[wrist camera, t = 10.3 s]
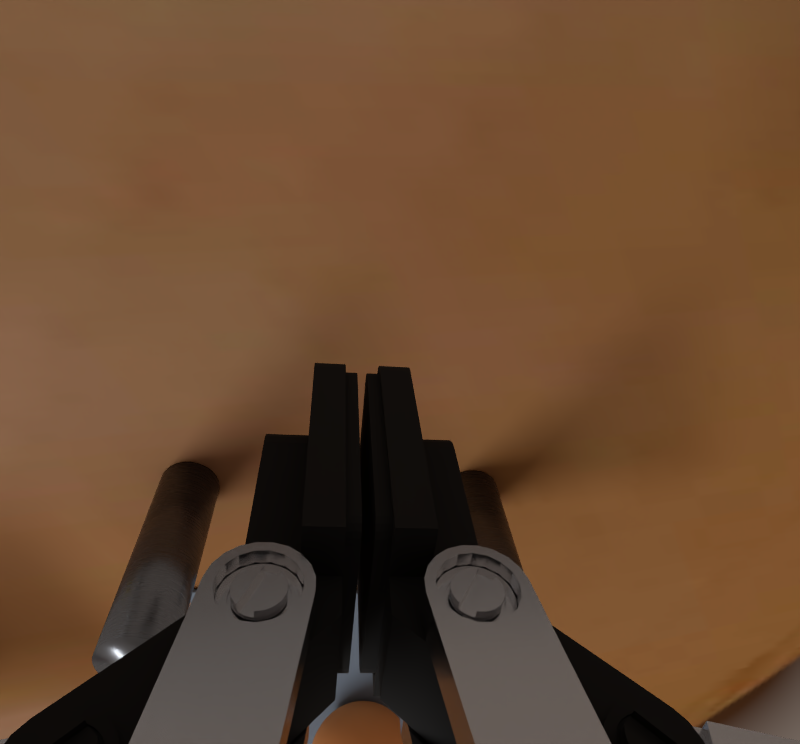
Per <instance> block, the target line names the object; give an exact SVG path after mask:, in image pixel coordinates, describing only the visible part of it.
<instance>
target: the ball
mask: <svg viewBox="0 0 800 744" xmlns="http://www.w3.org/2000/svg"><path fill="white" fill-rule="evenodd" d="M312 744H403V742H402V738H401V730H400V719H399V717H398V716H397V715H396V714H395V713H394V712H392V711H391V710H390V709H388V708H387V707H385V706H383V705H381V704H379V703H376V702H371V701H355V702H351V703H347V704H345V705H343V706H341V707H339V708H337V709H336V710H335V711H333V712H332V713H331V714H330V715H329V716H328V717H327V718H326V719H325V720H324V721H323V723H322V724H321V726H320V727H319V729H318V731H317V733H316V735H315V737H314V740H313V743H312Z"/></svg>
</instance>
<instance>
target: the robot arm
mask: <svg viewBox="0 0 800 744" xmlns="http://www.w3.org/2000/svg"><path fill="white" fill-rule="evenodd" d="M357 588H358V633H359V670H360V673H373V696H380V700H381V701H382V702H384V703H385V704H386V705H387V706H388V707H389V708H390V709H391V710H392V711H394V712H395V713H396V714H397V715H398V716H399V717H400V730H401V738H402V742H403V744H800V741H798V740H793V739H788V738H784V737H779V736H774V735H769V734H765V733H761V732H756V731H751V730H747V729H742V728H737V727H733V726H728V725H723V724H718V723H713V722H709V721H706V723H705V725H704V726H703V728H697V727H693V726H692V725H691V724H690V723H689V722H688V721H687V720H686V719H685V718H684V717H682V716H681V715H680V714H679V713H678V712H676V711H675V710H674V709H673V708H672V707H670V706H669V705H667V704H666V703H664V702H663V701H661V700H660V699H659V698H657V697H656V696H654V695H653V694H651V693H650V692H648V691H647V690H645V689H644V688H643V687H641V686H640V685H638V684H637V683H635V682H634V681H632V680H631V679H629V678H628V677H626V676H625V675H624V674H622V673H621V672H619V671H618V670H616V669H615V668H613V667H612V666H610V665H609V664H608V663H606V662H605V661H603V660H602V659H600V658H599V657H597V656H596V655H594V654H593V653H591V652H590V651H589V650H587V649H586V648H584V647H583V646H581V645H580V644H578V643H577V642H575V641H574V640H572V639H571V638H570V637H568V636H567V635H565V634H564V633H562V632H561V631H559V630H558V629H556V628H555V627H554V626H552V625H551V623H550V621H549V619H548V617H547V615H546V613H545V611H544V609H543V607H542V605H541V603H540V601H539V599H538V597H537V595H536V593H535V591H534V589H533V587H532V585H531V583H530V581H529V579H528V578H527V576H526V575H525V573H524V572H523V571H522V569H521V568H520V567H519V566H518V565H517V564H516V563H514V562H513V561H512V560H511V559H510V558H509V557H507V556H505V555H503V554H501V553H499V552H497V551H495V550H493V549H489V548H485V547H481V546H478V543H477V539H476V535H475V531H474V526H473V522H472V518H471V514H470V510H469V506H468V502H467V498H466V494H465V490H464V486H463V482H462V478H461V474H460V470H459V466H458V462H457V458H456V453H455V449H454V446H453V443H452V442H451V441H449V440H423V439H422V434H421V428H420V422H419V417H418V411H417V406H416V400H415V395H414V389H413V383H412V378H411V372H410V368H407V367H386V366H379V367H378V373H377V374H366V382H365V394H364V406H363V417H362V429H361V441H360V438H359V409H358V380H357V373H346V367H345V364H325V363H315V367H314V379H313V391H312V403H311V415H310V428H309V436H307V435H278V434H266V436H265V440H264V445H263V451H262V456H261V462H260V467H259V473H258V478H257V484H256V489H255V495H254V500H253V505H252V511H251V516H250V522H249V527H248V533H247V538H246V544H245V545H241V546H238V547H236V548H234V549H232V550H230V551H228V552H225V553H224V554H222V555H221V556H220V557H219V558H218V559H216V560H215V561H214V562H213V563H212V564H211V565H210V567H209V568H208V570H207V571H206V573H205V574H204V576H203V577H202V580H201V582H200V584H199V586H198V589H197V591H196V593H195V595H194V598H193V600H192V602H191V604H190V607H189V609H188V611H187V613H186V615H184V616H183V617H181V618H180V619H178V620H177V621H175V622H174V623H172V624H171V625H169V626H168V627H166V628H165V629H163V630H162V631H160V632H159V633H157V634H156V635H154V636H153V637H151V638H150V639H148V640H147V641H145V642H144V643H142V644H141V645H140V646H138V647H137V648H135V649H134V650H132V651H131V652H129V653H128V654H126V655H125V656H123V657H122V658H120V659H119V660H117V661H116V662H114V663H113V664H111V665H110V666H108V667H107V668H105V669H104V670H102V671H101V672H99V673H98V674H96V675H95V676H93V677H92V678H90V679H89V680H87V681H86V682H84V683H83V684H81V685H80V686H78V687H77V688H75V689H74V690H72V691H71V692H69V693H68V694H66V695H65V696H63V697H62V698H61V699H59V700H58V701H56V702H55V703H53V704H52V705H50V706H49V707H47V708H46V709H44V710H43V711H41V712H40V713H38V714H37V715H35V716H34V717H32V718H31V719H30V720H28V721H27V722H26V723H25V724H24V725H22V726H21V727H20V728H19V729H18V730H16V731H15V732H14V733H13V734H12V735H11V736H10V737H9V738H7V739H3V740H0V744H307V743H308V738H309V725H310V724H311V723H312V722H313V721H314V720H315V719H316V718H317V717H318V716H319V715H320V714H321V713H322V712H323V711H324V710H325V709H326V708H327V707H328V706H330V705H331V704H332V703H333V702H334V701H335V697H336V684H337V673H349V666H350V655H351V644H352V634H353V623H354V613H355V602H356V592H357Z"/></svg>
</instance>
